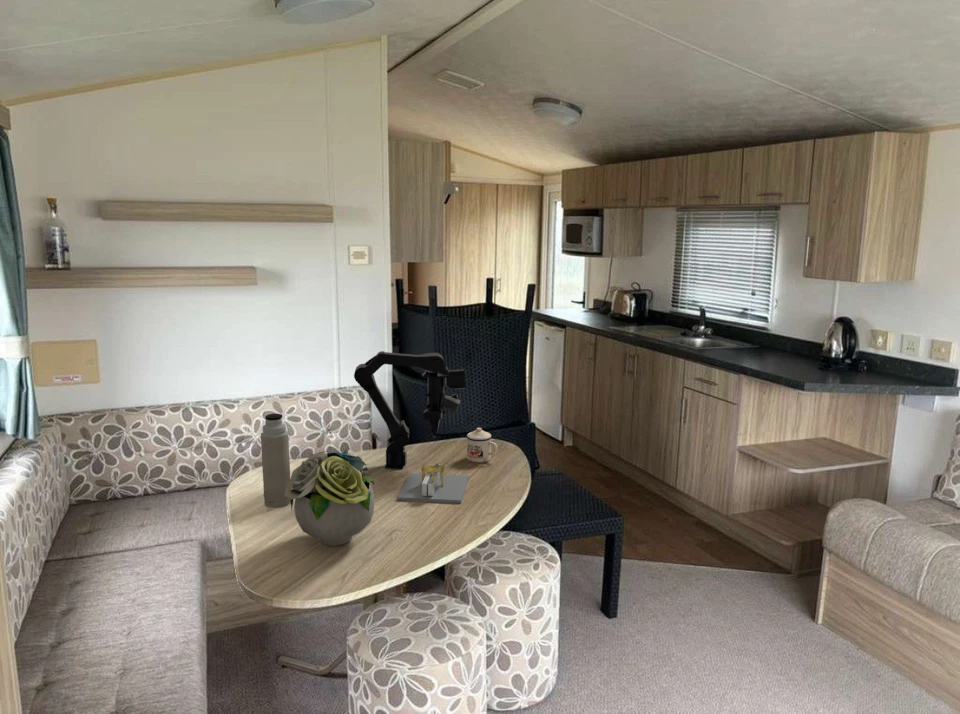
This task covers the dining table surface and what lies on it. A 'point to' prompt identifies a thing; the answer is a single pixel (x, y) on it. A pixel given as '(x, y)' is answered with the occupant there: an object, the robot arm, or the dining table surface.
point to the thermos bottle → (275, 461)
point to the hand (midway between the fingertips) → (436, 432)
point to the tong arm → (433, 483)
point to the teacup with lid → (479, 446)
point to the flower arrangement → (331, 496)
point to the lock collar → (433, 469)
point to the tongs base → (446, 493)
